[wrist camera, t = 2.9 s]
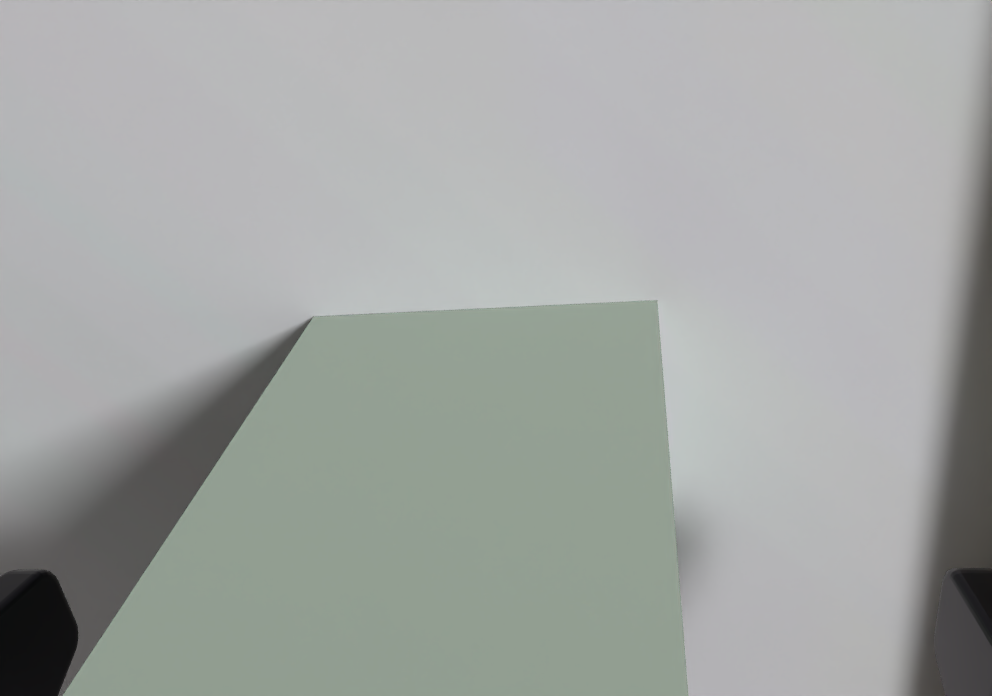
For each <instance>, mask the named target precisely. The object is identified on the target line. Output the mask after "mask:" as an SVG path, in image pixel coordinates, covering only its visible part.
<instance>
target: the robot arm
mask: <svg viewBox="0 0 992 696" xmlns="http://www.w3.org/2000/svg"><path fill="white" fill-rule="evenodd" d="M77 643H78V626H77V623H76V621H75V618H74V616H73V614H72V611H71V609H70V607H69V604H68V602H67V600H66V598H65V595H64V593H63V591H62V588H61V586H60V584H59V581H58V579H57V578H56V576H55V575H53V574H52V573H51V572H50V571H47V570H13V571H10V572H7V573H5V574H4V575H2V576H0V696H58V694H59V691H60V689H61V686H62V684H63V681H64V679H65V676H66V674H67V671H68V669H69V666H70V664H71V661H72V659H73V656H74V653H75V651H76V648H77ZM934 643H935V653H936V659H937V663H938V667H939V671H940V675H941V679H942V683H943V687H944V691H945V695H946V696H992V569H990V568H953V569H951V570H949V571H947V572H946V574H945V576H944V578H943V582H942V588H941V594H940V601H939V608H938V614H937V621H936V628H935V638H934Z"/></svg>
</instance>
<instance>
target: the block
mask: <svg viewBox="0 0 992 696" xmlns="http://www.w3.org/2000/svg"><path fill="white" fill-rule="evenodd" d="M63 696H688V685H687V672H686V660H685V647H684V634H683V622H682V609H681V596H680V583H679V571H678V558H677V545H676V533H675V520H674V507H673V494H672V482H671V469H670V456H669V443H668V431H667V418H666V405H665V393H664V380H663V367H662V354H661V342H660V329H659V316H658V304H657V300H654V301H633V302H612V303H591V304H570V305H549V306H528V307H507V308H486V309H465V310H444V311H423V312H402V313H381V314H360V315H339V316H318V317H313V318H312V320H311V321H310V323H309V324H308V326H307V327H306V329H305V330H304V332H303V333H302V335H301V336H300V338H299V339H298V341H297V342H296V344H295V345H294V347H293V348H292V350H291V351H290V353H289V354H288V356H287V357H286V359H285V360H284V362H283V363H282V365H281V366H280V368H279V370H278V371H277V373H276V374H275V376H274V377H273V379H272V380H271V382H270V383H269V385H268V386H267V388H266V389H265V391H264V392H263V394H262V395H261V397H260V398H259V400H258V401H257V403H256V404H255V406H254V407H253V409H252V410H251V412H250V413H249V415H248V416H247V418H246V419H245V421H244V422H243V424H242V425H241V427H240V428H239V430H238V431H237V433H236V434H235V436H234V437H233V439H232V441H231V442H230V444H229V445H228V447H227V448H226V450H225V451H224V453H223V454H222V456H221V457H220V459H219V460H218V462H217V463H216V465H215V466H214V468H213V469H212V471H211V472H210V474H209V475H208V477H207V478H206V480H205V481H204V483H203V484H202V486H201V487H200V489H199V490H198V492H197V493H196V495H195V496H194V498H193V499H192V501H191V502H190V504H189V505H188V507H187V508H186V510H185V511H184V513H183V515H182V516H181V518H180V519H179V521H178V522H177V524H176V525H175V527H174V528H173V530H172V531H171V533H170V534H169V536H168V537H167V539H166V540H165V542H164V543H163V545H162V546H161V548H160V549H159V551H158V552H157V554H156V555H155V557H154V558H153V560H152V561H151V563H150V564H149V566H148V567H147V569H146V570H145V572H144V573H143V575H142V576H141V578H140V579H139V581H138V582H137V584H136V585H135V587H134V589H133V590H132V592H131V593H130V595H129V596H128V598H127V599H126V601H125V602H124V604H123V605H122V607H121V608H120V610H119V611H118V613H117V614H116V616H115V617H114V619H113V620H112V622H111V623H110V625H109V626H108V628H107V629H106V631H105V632H104V634H103V635H102V637H101V638H100V640H99V641H98V643H97V644H96V646H95V647H94V649H93V650H92V652H91V653H90V655H89V656H88V658H87V660H86V661H85V663H84V664H83V666H82V667H81V669H80V670H79V672H78V673H77V675H76V676H75V678H74V679H73V681H72V682H71V684H70V685H69V687H68V688H67V690H66V691H65V693H64V694H63Z"/></svg>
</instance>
